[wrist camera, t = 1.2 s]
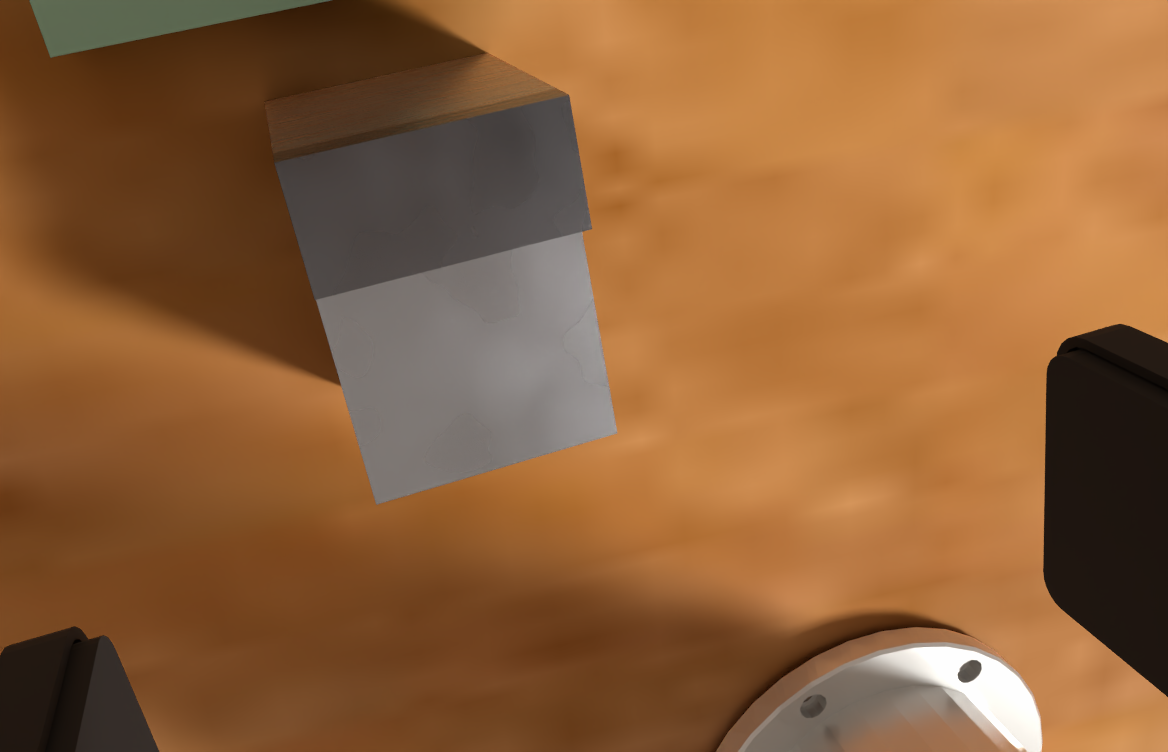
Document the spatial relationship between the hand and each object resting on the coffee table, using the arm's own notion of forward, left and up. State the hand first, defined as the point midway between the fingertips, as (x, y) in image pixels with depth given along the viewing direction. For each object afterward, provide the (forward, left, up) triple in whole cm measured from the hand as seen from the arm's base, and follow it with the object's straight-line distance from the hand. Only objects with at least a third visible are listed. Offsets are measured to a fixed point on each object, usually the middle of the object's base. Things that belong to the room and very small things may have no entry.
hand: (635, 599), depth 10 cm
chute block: (-1, 0, -17) cm, 17 cm away
